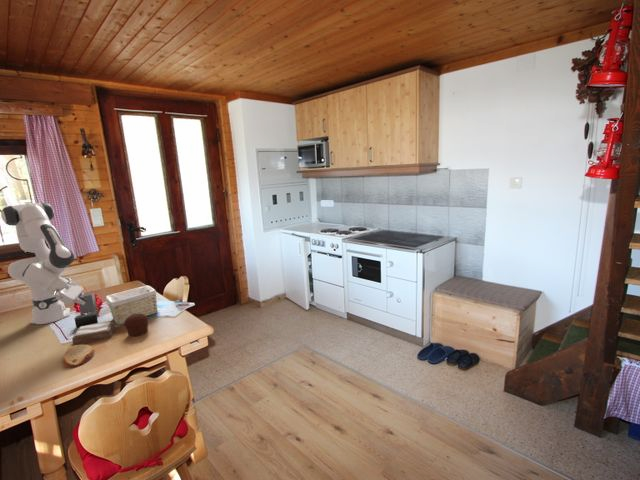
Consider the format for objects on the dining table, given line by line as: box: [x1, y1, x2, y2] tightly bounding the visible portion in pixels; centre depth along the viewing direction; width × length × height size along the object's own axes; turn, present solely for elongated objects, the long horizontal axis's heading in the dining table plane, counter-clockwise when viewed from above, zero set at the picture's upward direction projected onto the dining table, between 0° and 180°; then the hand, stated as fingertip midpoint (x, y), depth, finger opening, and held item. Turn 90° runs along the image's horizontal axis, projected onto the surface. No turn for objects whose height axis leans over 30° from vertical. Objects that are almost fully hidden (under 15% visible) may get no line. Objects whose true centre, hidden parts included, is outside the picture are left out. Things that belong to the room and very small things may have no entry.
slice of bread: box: [62, 343, 95, 369], centre depth 156 cm, size 18×18×4 cm
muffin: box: [123, 313, 150, 338], centre depth 176 cm, size 12×11×10 cm
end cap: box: [74, 311, 99, 329], centre depth 190 cm, size 10×7×7 cm
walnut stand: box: [71, 319, 116, 346], centre depth 176 cm, size 14×16×5 cm
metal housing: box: [77, 291, 98, 315], centre depth 173 cm, size 5×6×9 cm
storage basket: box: [105, 284, 158, 326], centre depth 198 cm, size 24×16×15 cm
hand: (86, 301), depth 172 cm, fingers closed on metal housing, 5 cm apart
